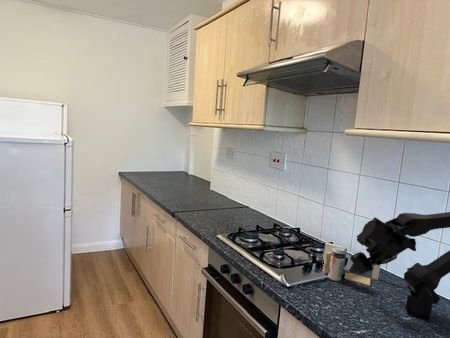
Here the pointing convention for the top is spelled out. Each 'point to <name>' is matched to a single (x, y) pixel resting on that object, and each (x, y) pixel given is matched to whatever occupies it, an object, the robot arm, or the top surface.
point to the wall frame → (329, 249)
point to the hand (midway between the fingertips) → (358, 267)
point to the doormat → (357, 278)
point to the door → (327, 261)
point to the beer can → (336, 263)
